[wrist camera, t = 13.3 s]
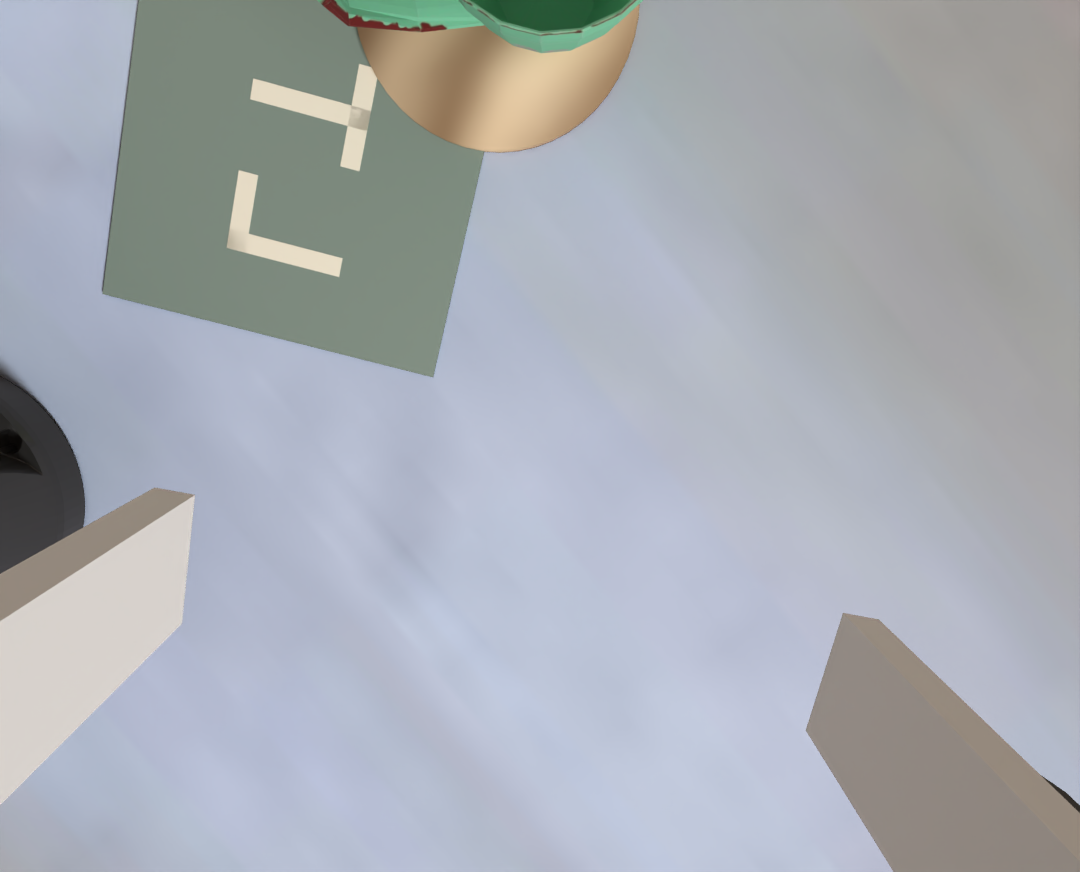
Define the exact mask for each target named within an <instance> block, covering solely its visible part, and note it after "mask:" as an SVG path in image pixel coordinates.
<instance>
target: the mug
mask: <svg viewBox="0 0 1080 872" xmlns="http://www.w3.org/2000/svg"><path fill="white" fill-rule="evenodd" d="M317 1H318V2H319V3H320V4H321V5H323V6H324V7H325V8H326V9H327V10H329V11H330V12H331V13H332V14H334V15H335V16H336V17H337V18H338V19H340V20H341V21H342V22H343V23H345V24H346V25H347V26H351V27H363V28H374V29H386V30H397V31H409V32H429V31H438V30H447V29H456V28H465V27H474V26H483V25H485V26H486V27H487V28H488V29H489V30H490V31H492V32H493V33H495V34H496V35H498V36H499V37H501V38H502V39H504V40H505V41H507V42H508V43H510V44H511V45H513V46H516V47H520V48H523V49H527V50H531V51H535V52H539V53H550V52H562V51H571V50H573V49H575V48H578V47H580V46H582V45H584V44H586V43H589V42H591V41H593V40H595V39H597V38H599V37H601V36H603V35H605V34H606V33H607V32H609V31H610V30H611V29H612V28H613V27H614V26H615V25H617V24H618V23H619V22H620V21H621V20H622V19H623V18H625V17H626V16H627V15H628V14H629V13H630V12H631V11H632V10H633V9H634V8H635V7H636V6H637V5H639V4H640V3H641V2H642V1H643V0H317Z"/></svg>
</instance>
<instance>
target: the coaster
mask: <svg viewBox="0 0 1080 872" xmlns="http://www.w3.org/2000/svg"><path fill="white" fill-rule="evenodd" d="M638 16H639V5H637V6H636V7H635V8H634V9H633V10H632V11H631V12H630V13H629V14H628V15H627V16H626V17H625V18H623V19H622V20H621V21H620V22H619V23H618V24H617V25H615V26H614V27H613V28H612V29H611V30H610V31H609V32H607V33H606V34H605V35H603V36H601V37H599V38H597V39H595V40H593V41H591V42H589V43H586V44H584V45H582V46H580V47H578V48H575V49H573V50H571V51H562V52H550V53H539V52H535V51H531V50H527V49H523V48H520V47H516V46H513V45H511V44H510V43H508V42H507V41H505V40H504V39H502V38H501V37H499V36H498V35H496V34H495V33H493V32H492V31H490V30H489V29H488V28H487V27H486V26H485V25H483V26H474V27H465V28H456V29H447V30H438V31H429V32H409V31H397V30H386V29H374V28H363V27H357V29H358V33H359V37H360V41H361V44H362V46H363V49H364V52H365V54H366V57H367V59H368V61H369V63H370V65H371V67H372V69H373V71H374V73H375V75H376V77H377V78H378V80H379V81H380V83H381V84H382V86H383V87H384V89H385V90H386V92H387V93H388V95H389V96H390V97H391V98H392V99H393V100H394V102H395V103H396V104H397V105H398V106H399V107H400V108H401V110H402V111H404V112H405V113H406V114H407V115H408V116H409V117H410V118H411V119H412V120H414V121H415V122H416V123H417V124H419V125H420V126H422V127H423V128H425V129H426V130H427V131H429V132H430V133H432V134H434V135H436V136H438V137H440V138H442V139H444V140H446V141H448V142H451V143H453V144H456V145H459V146H462V147H465V148H470V149H475V150H480V151H484V152H497V153H503V152H516V151H522V150H526V149H531V148H535V147H538V146H541V145H543V144H546V143H549V142H551V141H554V140H555V139H557V138H559V137H561V136H563V135H565V134H567V133H568V132H570V131H571V130H572V129H574V128H575V127H577V126H578V125H579V124H581V123H582V122H583V121H584V120H585V119H586V118H588V117H589V116H590V115H591V114H592V113H593V112H594V111H595V110H596V109H597V108H598V106H599V105H600V104H601V103H602V102H603V100H604V99H605V98H606V97H607V95H608V94H609V93H610V91H611V89H612V88H613V86H614V85H615V83H616V81H617V80H618V78H619V76H620V74H621V72H622V69H623V67H624V65H625V63H626V61H627V59H628V56H629V53H630V50H631V47H632V44H633V41H634V37H635V32H636V27H637V22H638Z"/></svg>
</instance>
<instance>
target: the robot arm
mask: <svg viewBox="0 0 1080 872" xmlns="http://www.w3.org/2000/svg"><path fill="white" fill-rule="evenodd" d="M194 499H195V495H192V494H187V493H182V492H176V491H171V490H165V489H160V488H153V489H151V490H150V491H148V492H146V493H144V494H142V495H141V496H139V497H137V498H135V499H133V500H132V501H130V502H128V503H126V504H124V505H123V506H121V507H119V508H117V509H116V510H114V511H112V512H110V513H108V514H107V515H105V516H103V517H101V518H99V519H98V520H96V521H94V522H92V523H90V524H89V525H87V526H85V527H83V524H84V516H85V498H84V489H83V483H82V479H81V474H80V471H79V468H78V465H77V462H76V459H75V457H74V454H73V452H72V450H71V448H70V446H69V444H68V442H67V441H66V439H65V437H64V436H63V434H62V432H61V431H60V429H59V428H58V427H57V425H56V424H55V423H54V421H53V420H52V419H51V418H50V416H49V415H48V414H47V413H46V412H45V411H44V410H43V409H42V408H41V407H40V406H39V405H38V404H37V403H36V402H35V401H34V400H33V399H32V398H31V397H30V396H29V395H27V394H26V393H25V392H24V391H22V390H21V389H20V388H18V387H17V386H15V385H14V384H12V383H11V382H9V381H8V380H6V379H4V378H3V377H1V376H0V805H1V804H2V803H3V802H4V801H5V800H6V799H7V798H8V797H9V796H10V795H11V794H12V793H13V792H14V791H15V790H16V789H17V788H18V787H19V786H20V785H21V784H22V783H23V782H24V781H25V780H26V779H27V778H28V777H29V776H30V775H31V774H32V773H33V772H34V771H35V770H36V769H37V768H38V767H39V766H40V765H41V764H42V763H43V762H44V761H45V760H46V759H47V758H48V757H49V756H50V755H51V754H52V753H53V752H54V751H55V750H56V749H57V748H58V747H59V746H60V745H61V744H62V743H63V742H64V741H65V740H66V739H67V738H68V737H69V736H70V735H71V734H72V733H73V732H74V731H75V730H76V729H77V728H78V727H79V726H80V725H81V724H82V723H83V722H84V721H85V720H86V719H87V718H88V717H89V716H90V715H91V714H92V713H93V712H94V711H95V710H96V709H97V708H98V707H99V706H100V705H101V704H102V703H103V702H104V701H105V700H106V699H107V698H108V697H109V696H110V695H111V694H112V693H113V692H114V691H115V690H116V689H117V688H118V687H119V686H120V685H121V684H122V683H123V682H124V681H125V680H126V679H127V678H128V677H129V676H130V675H131V674H132V673H133V672H134V671H135V670H136V669H137V668H138V667H139V666H140V665H141V664H142V663H143V662H144V661H145V660H146V659H147V658H148V657H149V656H150V655H151V654H152V653H153V652H154V651H155V650H156V649H157V648H158V647H159V646H160V645H161V644H162V643H163V642H164V641H165V640H166V639H167V638H168V637H169V636H170V635H171V634H172V633H173V632H174V631H175V630H176V629H177V628H178V627H179V626H180V625H181V624H182V617H183V607H184V597H185V588H186V578H187V568H188V558H189V548H190V538H191V528H192V519H193V509H194ZM806 731H807V733H808V735H809V736H810V738H811V740H812V741H813V743H814V744H815V746H816V748H817V749H818V751H819V752H820V754H821V756H822V757H823V759H824V760H825V762H826V764H827V765H828V767H829V769H830V770H831V772H832V773H833V775H834V777H835V778H836V780H837V781H838V783H839V785H840V786H841V788H842V789H843V791H844V793H845V794H846V796H847V797H848V799H849V801H850V802H851V804H852V806H853V807H854V809H855V810H856V812H857V814H858V815H859V817H860V818H861V820H862V822H863V823H864V825H865V826H866V828H867V830H868V831H869V833H870V834H871V836H872V838H873V839H874V841H875V843H876V844H877V846H878V847H879V849H880V851H881V852H882V854H883V855H884V857H885V859H886V860H887V862H888V863H889V865H890V867H891V868H892V870H893V872H1080V805H1079V804H1077V803H1076V802H1075V801H1074V800H1073V799H1072V798H1071V797H1070V796H1069V795H1068V794H1067V793H1066V792H1064V791H1063V790H1062V789H1060V788H1059V787H1057V786H1056V785H1054V784H1053V783H1051V782H1050V781H1048V780H1047V779H1046V778H1044V777H1043V776H1041V775H1040V774H1039V773H1038V772H1037V771H1036V770H1035V769H1033V768H1032V767H1031V766H1030V765H1029V764H1028V763H1027V762H1026V761H1025V760H1024V759H1023V758H1022V757H1021V756H1020V755H1019V754H1018V753H1017V752H1016V751H1015V750H1014V749H1013V748H1012V747H1011V746H1010V745H1009V744H1008V743H1006V742H1005V741H1004V740H1003V739H1002V738H1001V737H1000V736H999V735H998V734H997V733H996V732H995V731H994V730H993V729H992V728H991V727H990V726H989V725H988V724H987V723H986V722H985V721H984V720H983V719H982V718H981V717H979V716H978V715H977V714H976V713H975V712H974V711H973V710H972V709H971V708H970V707H969V706H968V705H967V704H966V703H965V702H964V701H963V700H962V699H961V698H960V697H959V696H958V695H957V694H956V693H955V692H953V691H952V690H951V689H950V688H949V687H948V686H947V685H946V684H945V683H944V682H943V681H942V680H941V679H940V678H939V677H938V676H937V675H936V674H935V673H934V672H933V671H932V670H931V669H930V668H929V667H928V666H926V665H925V664H924V663H923V662H922V661H921V660H920V659H919V658H918V657H917V656H916V655H915V654H914V653H913V652H912V651H911V650H910V649H909V648H908V647H907V646H906V645H905V644H904V643H903V642H902V641H901V640H899V639H898V638H897V637H896V636H895V635H894V634H893V633H892V632H891V631H890V630H889V629H888V628H887V627H886V626H885V625H884V624H883V623H882V622H881V621H880V620H879V619H873V618H868V617H862V616H857V615H851V614H846V613H843V615H842V618H841V621H840V624H839V627H838V631H837V634H836V637H835V640H834V643H833V646H832V649H831V653H830V656H829V659H828V662H827V665H826V668H825V671H824V675H823V678H822V681H821V684H820V687H819V690H818V693H817V697H816V700H815V703H814V706H813V709H812V712H811V715H810V719H809V722H808V725H807V728H806Z"/></svg>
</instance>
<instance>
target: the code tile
mask: <svg viewBox="0 0 1080 872" xmlns="http://www.w3.org/2000/svg"><path fill="white" fill-rule="evenodd" d="M483 155H484V151H480V150H475V149H470V148H465V147H462V146H459V145H456V144H453V143H451V142H448V141H446V140H444V139H442V138H440V137H438V136H436V135H434V134H432V133H430V132H429V131H427V130H426V129H425V128H423V127H422V126H420V125H419V124H417V123H416V122H415V121H414V120H412V119H411V118H410V117H409V116H408V115H407V114H406V113H405V112H404V111H402V110H401V108H400V107H399V106H398V105H397V104H396V103H395V102H394V100H393V99H392V98H391V97H390V96H389V95H388V93H387V92H386V90H385V89H384V87H383V86H382V84H381V83H380V81H379V80H378V78H377V77H376V75H375V73H374V71H373V69H372V67H371V65H370V63H369V61H368V59H367V57H366V54H365V52H364V49H363V46H362V44H361V41H360V37H359V33H358V29H357V27H351V26H347V25H346V24H345V23H343V22H342V21H341V20H340V19H338V18H337V17H336V16H335V15H334V14H332V13H331V12H330V11H329V10H327V9H326V8H325V7H324V6H323V5H321V4H320V3H319V2H318V1H317V0H139V3H138V11H137V19H136V27H135V35H134V43H133V51H132V59H131V67H130V76H129V84H128V92H127V100H126V108H125V116H124V124H123V132H122V140H121V148H120V156H119V165H118V173H117V181H116V189H115V197H114V205H113V213H112V221H111V229H110V237H109V246H108V254H107V262H106V270H105V278H104V286H103V294H105V295H109V296H113V297H117V298H121V299H125V300H129V301H133V302H137V303H141V304H145V305H149V306H153V307H157V308H161V309H165V310H168V311H172V312H176V313H180V314H184V315H188V316H192V317H196V318H200V319H204V320H208V321H212V322H216V323H220V324H224V325H228V326H232V327H236V328H240V329H244V330H248V331H252V332H256V333H260V334H264V335H268V336H272V337H275V338H279V339H283V340H287V341H291V342H295V343H299V344H303V345H307V346H311V347H315V348H319V349H323V350H327V351H331V352H335V353H339V354H343V355H347V356H351V357H355V358H359V359H363V360H367V361H371V362H375V363H379V364H383V365H386V366H390V367H394V368H398V369H402V370H406V371H410V372H414V373H418V374H422V375H426V376H430V377H433V375H434V371H435V367H436V362H437V358H438V353H439V349H440V345H441V340H442V336H443V331H444V327H445V323H446V318H447V314H448V309H449V305H450V301H451V296H452V292H453V287H454V283H455V278H456V274H457V270H458V265H459V261H460V256H461V252H462V248H463V243H464V239H465V234H466V230H467V226H468V221H469V217H470V212H471V208H472V204H473V199H474V195H475V190H476V186H477V182H478V177H479V173H480V168H481V164H482V159H483Z"/></svg>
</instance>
